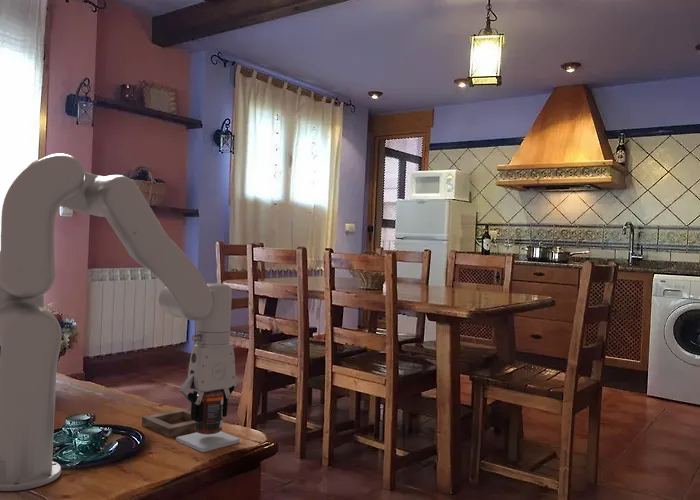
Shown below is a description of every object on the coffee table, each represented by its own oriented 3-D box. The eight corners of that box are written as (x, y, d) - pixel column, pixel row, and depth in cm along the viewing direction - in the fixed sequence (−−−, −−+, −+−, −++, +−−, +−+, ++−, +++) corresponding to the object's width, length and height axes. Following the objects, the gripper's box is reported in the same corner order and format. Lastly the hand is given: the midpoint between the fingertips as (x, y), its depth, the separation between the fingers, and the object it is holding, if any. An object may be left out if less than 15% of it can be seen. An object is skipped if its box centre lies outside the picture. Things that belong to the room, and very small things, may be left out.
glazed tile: (202, 452, 124) (202, 448, 124) (176, 440, 131) (176, 437, 131) (239, 442, 132) (239, 438, 132) (213, 431, 139) (213, 428, 139)
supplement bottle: (227, 430, 132) (230, 381, 132) (208, 437, 127) (210, 385, 127) (208, 425, 136) (211, 376, 136) (189, 431, 131) (191, 381, 131)
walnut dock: (168, 437, 133) (169, 428, 133) (141, 425, 141) (142, 416, 141) (212, 427, 142) (213, 418, 142) (184, 416, 150) (185, 408, 150)
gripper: (189, 344, 123) (185, 429, 123) (253, 337, 136) (249, 414, 136) (169, 339, 127) (165, 421, 127) (233, 333, 140) (229, 408, 140)
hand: (209, 417), depth 132 cm, fingers closed on supplement bottle, 6 cm apart
